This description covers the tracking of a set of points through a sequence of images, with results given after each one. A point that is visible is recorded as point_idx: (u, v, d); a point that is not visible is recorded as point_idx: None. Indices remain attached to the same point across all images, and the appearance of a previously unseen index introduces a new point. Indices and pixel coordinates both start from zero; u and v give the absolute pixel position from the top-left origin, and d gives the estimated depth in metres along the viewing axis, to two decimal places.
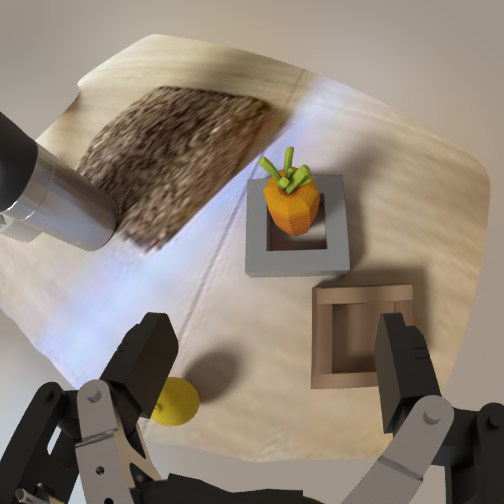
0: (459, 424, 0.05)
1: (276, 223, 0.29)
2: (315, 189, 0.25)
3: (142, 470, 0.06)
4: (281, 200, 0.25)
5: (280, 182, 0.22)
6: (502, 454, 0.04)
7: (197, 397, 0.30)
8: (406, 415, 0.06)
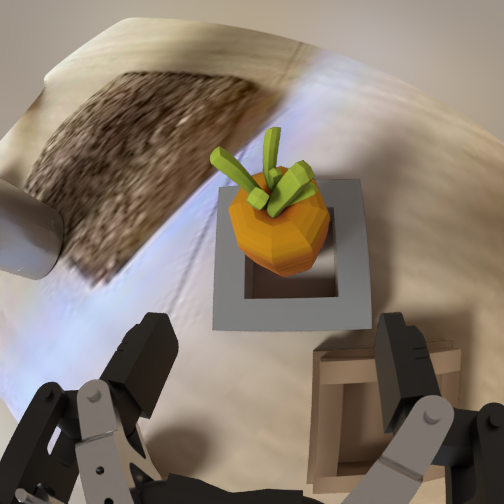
0: (459, 424, 0.05)
1: (256, 262, 0.18)
2: (322, 208, 0.13)
3: (142, 470, 0.06)
4: (258, 230, 0.13)
5: (250, 199, 0.10)
6: (502, 454, 0.04)
7: None
8: (406, 415, 0.06)
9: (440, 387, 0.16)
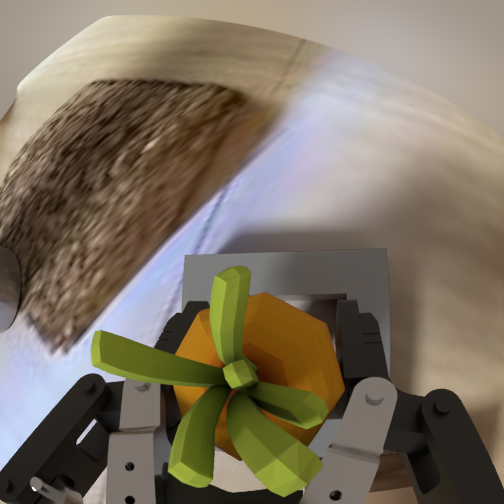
0: (406, 408, 0.06)
1: None
2: (334, 389, 0.07)
3: None
4: (215, 428, 0.07)
5: (173, 473, 0.04)
6: (458, 438, 0.05)
7: None
8: (351, 395, 0.07)
9: None
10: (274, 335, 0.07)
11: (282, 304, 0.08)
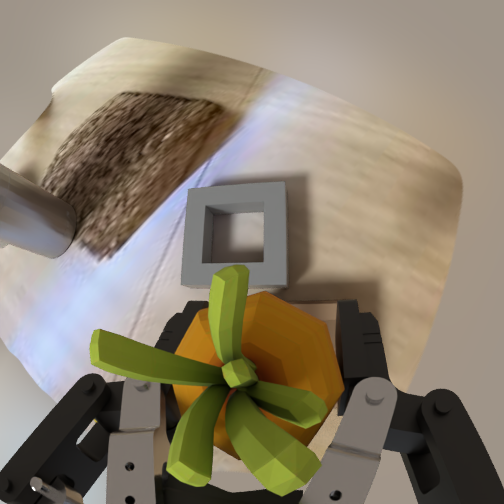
0: (406, 408, 0.06)
1: None
2: (334, 389, 0.07)
3: None
4: (214, 428, 0.07)
5: (171, 472, 0.04)
6: (458, 437, 0.05)
7: None
8: (351, 395, 0.07)
9: None
10: (274, 335, 0.07)
11: (281, 303, 0.08)
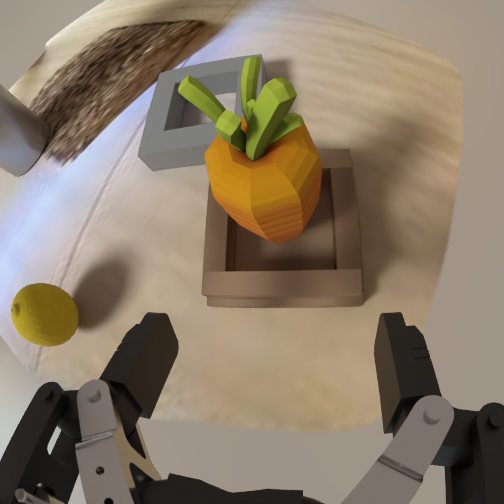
0: (459, 424, 0.05)
1: (238, 222, 0.15)
2: (312, 151, 0.11)
3: (142, 470, 0.06)
4: (235, 174, 0.11)
5: (218, 124, 0.08)
6: (502, 454, 0.04)
7: (70, 311, 0.22)
8: (406, 415, 0.06)
9: (331, 182, 0.20)
10: None
11: None
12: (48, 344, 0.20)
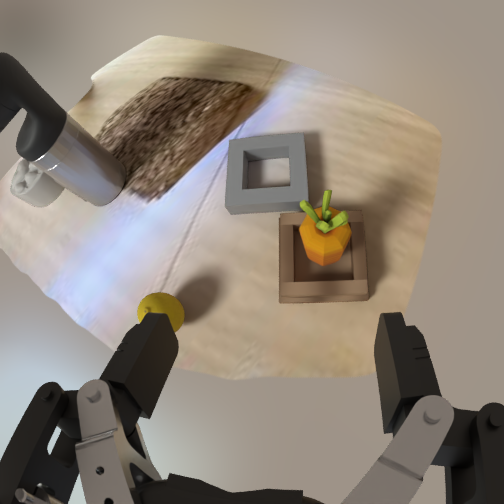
0: (459, 424, 0.05)
1: (308, 256, 0.31)
2: (348, 228, 0.26)
3: (142, 470, 0.06)
4: (317, 239, 0.26)
5: (320, 226, 0.23)
6: (502, 454, 0.04)
7: (182, 310, 0.37)
8: (406, 415, 0.06)
9: (351, 230, 0.35)
10: (332, 213, 0.27)
11: (332, 208, 0.27)
12: None
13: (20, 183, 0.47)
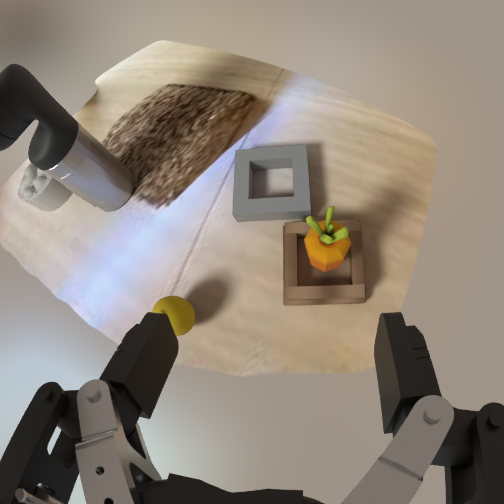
0: (459, 424, 0.05)
1: (312, 264, 0.34)
2: (348, 240, 0.29)
3: (142, 470, 0.06)
4: (321, 250, 0.29)
5: (324, 239, 0.26)
6: (502, 454, 0.04)
7: (193, 312, 0.40)
8: (406, 415, 0.06)
9: (350, 239, 0.38)
10: (334, 226, 0.30)
11: (334, 221, 0.30)
12: (179, 334, 0.39)
13: (29, 188, 0.49)
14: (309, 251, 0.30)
